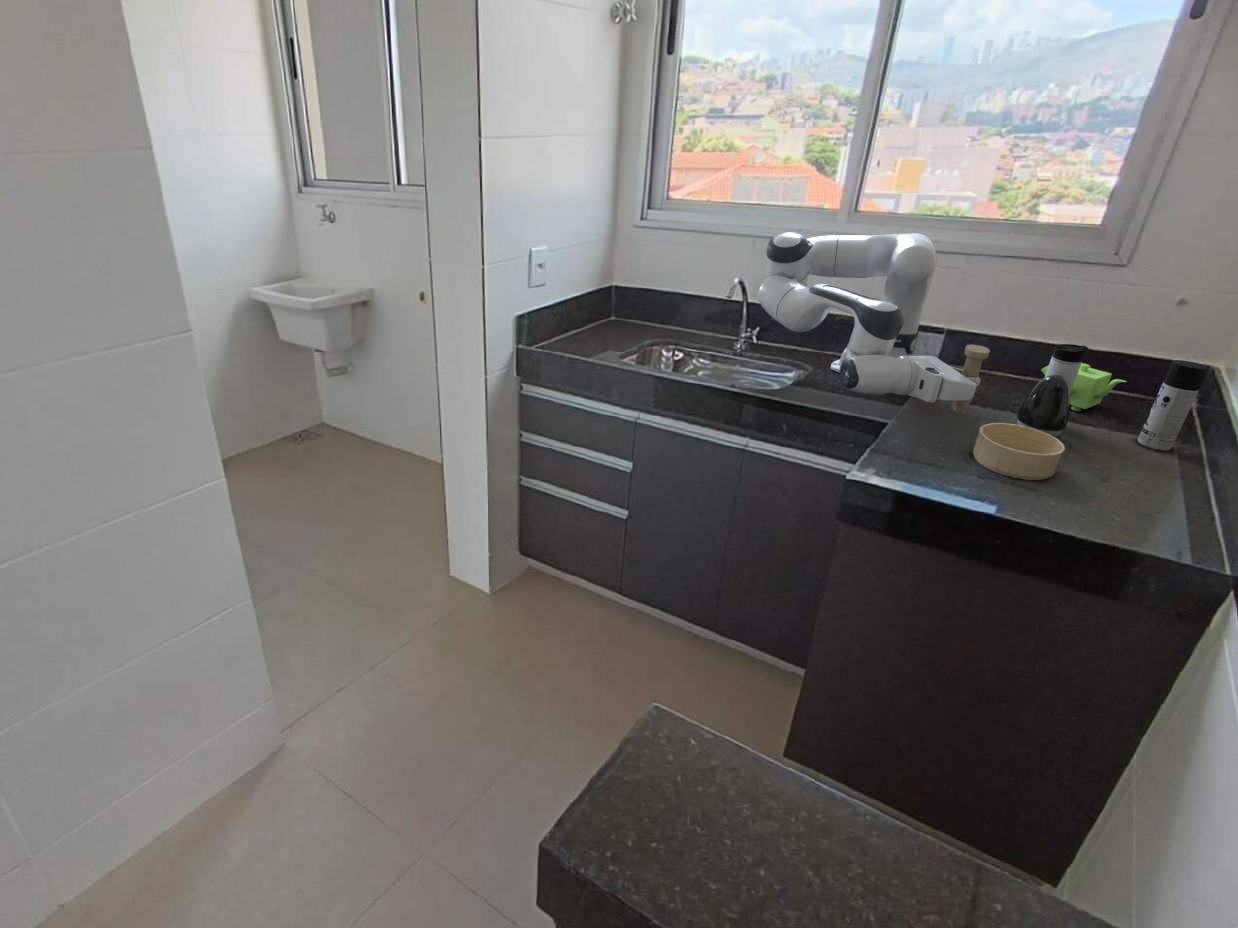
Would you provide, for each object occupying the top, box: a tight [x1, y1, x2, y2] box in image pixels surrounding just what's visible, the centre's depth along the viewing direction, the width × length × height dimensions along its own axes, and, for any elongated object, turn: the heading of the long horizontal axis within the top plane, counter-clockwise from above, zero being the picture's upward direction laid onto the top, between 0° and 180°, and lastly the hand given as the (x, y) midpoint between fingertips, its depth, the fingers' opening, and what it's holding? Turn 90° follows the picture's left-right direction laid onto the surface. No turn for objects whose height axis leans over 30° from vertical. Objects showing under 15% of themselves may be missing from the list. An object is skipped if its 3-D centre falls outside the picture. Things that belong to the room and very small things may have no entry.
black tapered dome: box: [1016, 375, 1071, 438], centre depth 158 cm, size 10×10×15 cm
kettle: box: [1040, 362, 1127, 412], centre depth 179 cm, size 15×14×11 cm
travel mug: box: [1044, 343, 1089, 393], centre depth 164 cm, size 6×7×20 cm
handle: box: [951, 344, 991, 414], centre depth 154 cm, size 5×6×15 cm
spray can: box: [1137, 359, 1209, 452], centre depth 155 cm, size 7×7×20 cm
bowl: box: [972, 422, 1066, 481], centre depth 145 cm, size 16×16×6 cm
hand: (973, 377), depth 153 cm, fingers closed on handle, 3 cm apart
